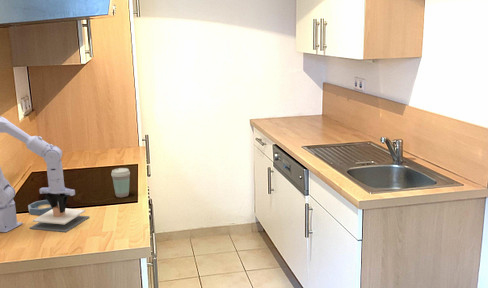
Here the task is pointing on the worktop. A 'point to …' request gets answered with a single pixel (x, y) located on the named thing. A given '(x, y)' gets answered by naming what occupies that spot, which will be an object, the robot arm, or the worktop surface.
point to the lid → (59, 216)
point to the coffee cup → (121, 181)
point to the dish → (39, 207)
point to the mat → (60, 225)
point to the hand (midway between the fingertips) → (59, 211)
